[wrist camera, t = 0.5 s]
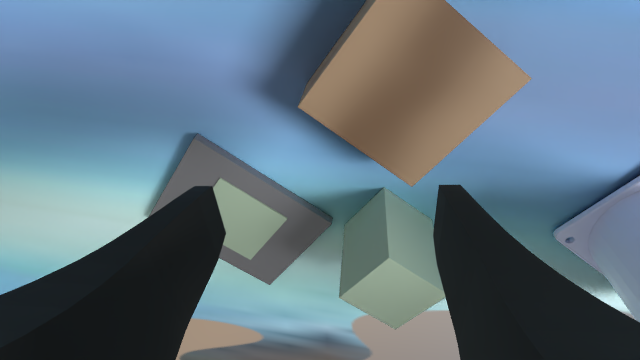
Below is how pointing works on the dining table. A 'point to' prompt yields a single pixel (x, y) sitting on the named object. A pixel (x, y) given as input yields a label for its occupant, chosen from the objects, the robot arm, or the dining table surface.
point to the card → (248, 210)
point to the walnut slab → (410, 84)
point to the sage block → (390, 261)
